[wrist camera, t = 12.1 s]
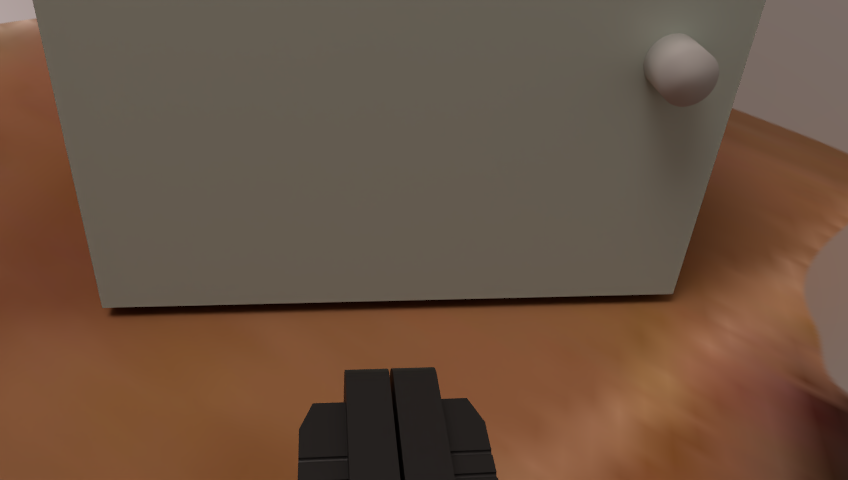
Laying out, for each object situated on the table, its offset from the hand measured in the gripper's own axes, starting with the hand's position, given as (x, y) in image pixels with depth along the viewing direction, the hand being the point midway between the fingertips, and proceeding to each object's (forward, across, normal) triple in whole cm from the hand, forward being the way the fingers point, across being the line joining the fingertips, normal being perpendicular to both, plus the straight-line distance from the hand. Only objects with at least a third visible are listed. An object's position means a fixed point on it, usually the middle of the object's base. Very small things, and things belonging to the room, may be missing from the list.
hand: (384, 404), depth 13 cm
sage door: (+15, -2, +10) cm, 18 cm away
